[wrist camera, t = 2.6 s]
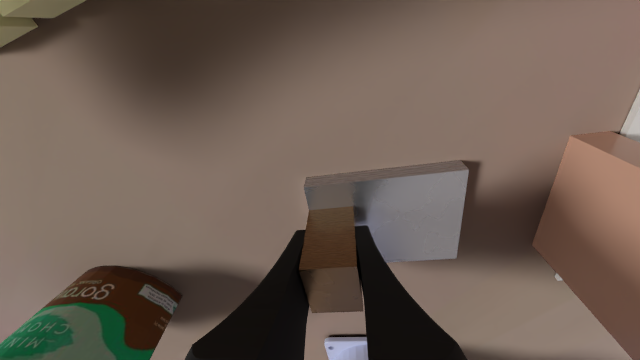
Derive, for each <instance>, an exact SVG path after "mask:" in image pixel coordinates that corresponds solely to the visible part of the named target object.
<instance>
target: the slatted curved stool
mask: <svg viewBox="0 0 640 360" xmlns="http://www.w3.org/2000/svg"><path fill="white" fill-rule="evenodd" d="M84 1H86V0H0V47H2V46H4V45H6V44H8V43H9V42H11V41H13V40H15V39H17V38H19V37H20V36H22V35H24V34H26V33H28V32H30V31H31V30H33V29H35V28H37V27H38V26H37V24H36V23H35V22H34V20H33V19H32V18H55V17H57V16H59V15H61V14H62V13H64V12H66V11H68V10H70V9H72V8H73V7H75V6H77V5H79V4H81V3H83V2H84Z"/></svg>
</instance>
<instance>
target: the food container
mask: <svg viewBox="0 0 640 360" xmlns="http://www.w3.org/2000/svg"><path fill="white" fill-rule="evenodd" d="M181 298H182V295H181V294H180V293H179V292H178V291H176V290H175V289H174V288H173V287H171V286H170V285H168V284H166V283H165V282H163V281H161V280H160V279H158V278H156V277H154V276H151V275H149V274H146V273H143V272H141V271H138V270H135V269H130V268H125V267H120V266H100V267H95V268H92V269H90V270H88V271H87V272H85V273H84V274H83V275H82V276H80V277H79V278H78V279H77V280H76V281H74V282H73V283H72V284H71V285H70V286H69V287H67V288H66V289H65V290H64V291H63V292H61V293H60V294H59V295H58V296H57V297H55V298H54V299H53V300H52V301H51V302H49V303H48V304H47V305H46V306H45V307H43V308H42V309H41V310H40V311H39V312H38V313H36V314H35V315H34V316H33V317H32V318H30V319H29V320H28V321H27V322H26V323H24V324H23V325H22V326H21V327H20V328H18V329H17V330H16V331H15V332H14V333H12V334H11V335H10V336H9V337H8V338H7V339H5V340H4V341H3V342H2V343H1V344H0V360H150V358H151V356H152V354H153V352H154V350H155V348H156V346H157V344H158V342H159V340H160V339H161V337H162V335H163V333H164V331H165V329H166V327H167V325H168V323H169V321H170V319H171V317H172V315H173V313H174V311H175V309H176V307H177V305H178V304H179V302H180V300H181Z"/></svg>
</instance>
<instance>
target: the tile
mask: <svg viewBox="0 0 640 360" xmlns="http://www.w3.org/2000/svg"><path fill="white" fill-rule="evenodd" d="M532 245H533V247H534V248H535V249H536V250H537V251H538V252H539V253H540V254H541V256H542V257H543V258H544V259H545V260H546V261H547V262H548V264H549V265H550V266H551V267H552V268H553V269H554V270H555V272H556V273H557V274H558V275H559V276H560V277H561V278H562V279H563V281H564V282H565V283H566V284H567V285H568V286H569V287H570V289H571V290H572V291H573V292H574V293H575V294H576V295H577V297H578V298H579V299H580V300H581V301H582V302H583V303H584V305H585V306H586V307H587V308H588V309H589V310H590V311H591V312H592V314H593V315H594V316H595V317H596V318H597V319H598V320H599V322H600V323H601V324H602V325H603V326H604V327H605V328H606V330H607V331H608V332H609V333H610V334H611V335H612V336H613V337H614V339H615V340H616V341H617V342H618V343H619V344H620V345H621V347H622V348H623V349H624V350H625V351H626V352H627V353H628V355H629V356H630V357H631V358H632V359H633V360H640V142H637V141H635V140H632V139H629V138H627V137H624V136H621V135H619V134H616V133H614V132H611V131H607V132H598V133H589V134H580V135H571V136H570V138H569V141H568V144H567V146H566V149H565V152H564V155H563V158H562V161H561V163H560V166H559V169H558V172H557V175H556V178H555V181H554V183H553V186H552V189H551V192H550V195H549V198H548V200H547V203H546V206H545V209H544V212H543V215H542V217H541V220H540V223H539V226H538V229H537V232H536V234H535V237H534V240H533V243H532Z"/></svg>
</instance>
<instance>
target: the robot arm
mask: <svg viewBox="0 0 640 360" xmlns="http://www.w3.org/2000/svg"><path fill="white" fill-rule="evenodd" d="M305 232H306V230H297V231H296V232H295V234H294V235H293V237H292V239H291V240H290V242H289V244H288V245H287V247H286V249H285V250H284V252H283V253H282V255H281V256H280V258H279V259H278V261H277V262H276V264H275V265H274V266H273V268H272V269H271V270H270V272H269V273H268V274H267V276H266V277H265V278H264V279H263V281H262V282H261V283H260V284H259V285H258V287H257V288H256V289H255V290H254V291H253V292H252V293H251V294H250V295H249V297H248V298H247V299H246V300H245V301H244V302H243V303H242V304H241V305H240V306H239V307H238V308H237V309H236V310H235V311H233V312H232V313H231V314H230V315H229V316H228V317H227V318H226V319H225V320H223V321H222V322H221V323H220V324H219V325H217V326H216V327H215V328H214V329H212V330H211V331H210V332H209V333H207V334H206V335H205V336H203V337H202V338H201V339H199V340H198V341H197V342H195V343H194V344H193V345H192V347H191V349H190V351H189V352H188V354H187V356H186V358H185V360H304V349H305V335H306V323H307V316H308V310H309V301H308V298H307V295H306V292H305V289H304V285H303V282H302V279H301V276H300V273H299V265H300V260H301V254H302V248H303V244H304V237H305ZM355 240H356V248H357V255H358V263H359V271H360V278H361V284H362V290H363V296H364V305H365V319H366V334H367V337H328V338H326V339H325V348H326V351H327V354H328V358H329V360H467V358H466V357H465V355H464V353H463V352H462V350H461V348H460V347H459V345H458V344H457V342H456V341H455V340H454V339H453V338H452V337H450V336H449V335H448V334H447V333H446V332H445V331H444V330H443V329H442V328H441V327H440V326H439V325H437V324H436V323H435V322H434V321H433V320H432V319H431V318H430V317H429V316H428V315H427V314H426V313H425V311H424V310H423V309H422V308H421V307H420V306H419V305H418V304H417V303H416V302H415V300H414V299H413V298H412V297H411V296H410V295H409V294H408V292H407V291H406V290H405V289H404V287H403V286H402V285H401V284H400V282H399V281H398V280H397V278H396V277H395V275H394V274H393V273H392V271H391V270H390V268H389V267H388V265H387V264H386V262H385V260H384V259H383V257H382V255H381V253H380V252H379V250H378V248H377V246H376V244H375V242H374V240H373V238H372V235H371V233H370V230H369V227H368V226H367V225H363V226H355Z"/></svg>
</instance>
